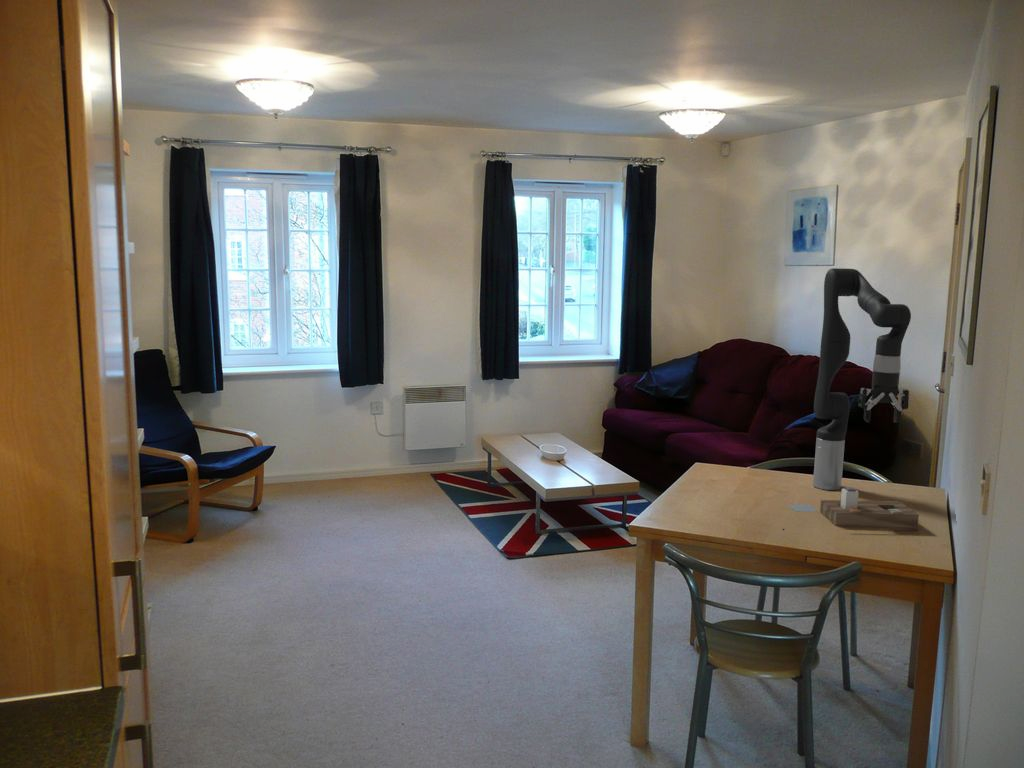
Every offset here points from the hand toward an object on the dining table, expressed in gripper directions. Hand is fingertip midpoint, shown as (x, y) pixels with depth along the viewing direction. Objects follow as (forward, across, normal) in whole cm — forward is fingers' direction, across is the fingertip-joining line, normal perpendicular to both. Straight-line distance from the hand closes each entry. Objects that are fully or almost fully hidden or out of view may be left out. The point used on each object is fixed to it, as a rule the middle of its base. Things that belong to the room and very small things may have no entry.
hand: (881, 422), depth 261 cm
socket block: (+29, +6, +10) cm, 31 cm away
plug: (+28, +12, +10) cm, 32 cm away
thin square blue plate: (+29, +22, 0) cm, 36 cm away
